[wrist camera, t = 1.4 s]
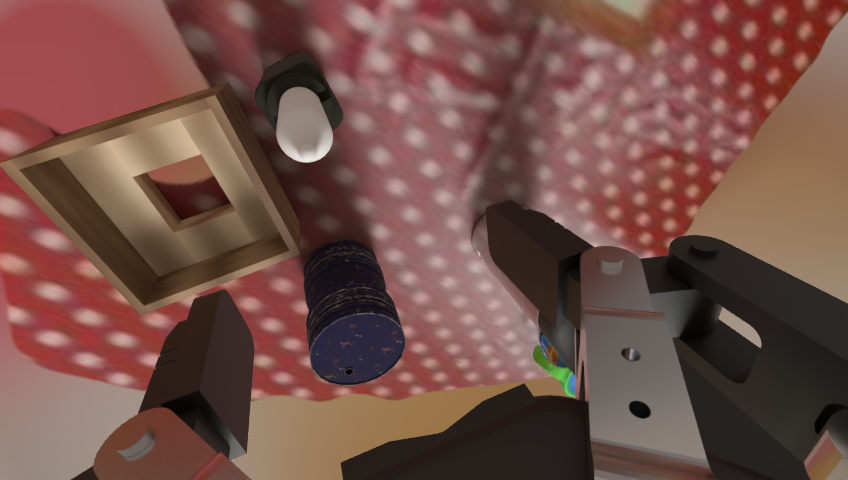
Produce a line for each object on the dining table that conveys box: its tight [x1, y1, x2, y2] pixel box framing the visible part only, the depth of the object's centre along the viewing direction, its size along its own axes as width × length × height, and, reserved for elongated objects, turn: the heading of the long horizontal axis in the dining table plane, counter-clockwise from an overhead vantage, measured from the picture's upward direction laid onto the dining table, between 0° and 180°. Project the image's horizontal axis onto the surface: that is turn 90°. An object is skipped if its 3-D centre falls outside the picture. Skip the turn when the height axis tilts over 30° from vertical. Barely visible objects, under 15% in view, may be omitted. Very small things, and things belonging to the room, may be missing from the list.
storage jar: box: [304, 239, 406, 386], centre depth 44 cm, size 10×10×15 cm
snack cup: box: [533, 335, 575, 397], centre depth 67 cm, size 16×10×10 cm
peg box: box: [0, 82, 301, 315], centre depth 36 cm, size 16×16×8 cm
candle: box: [255, 52, 343, 163], centre depth 28 cm, size 5×5×25 cm
